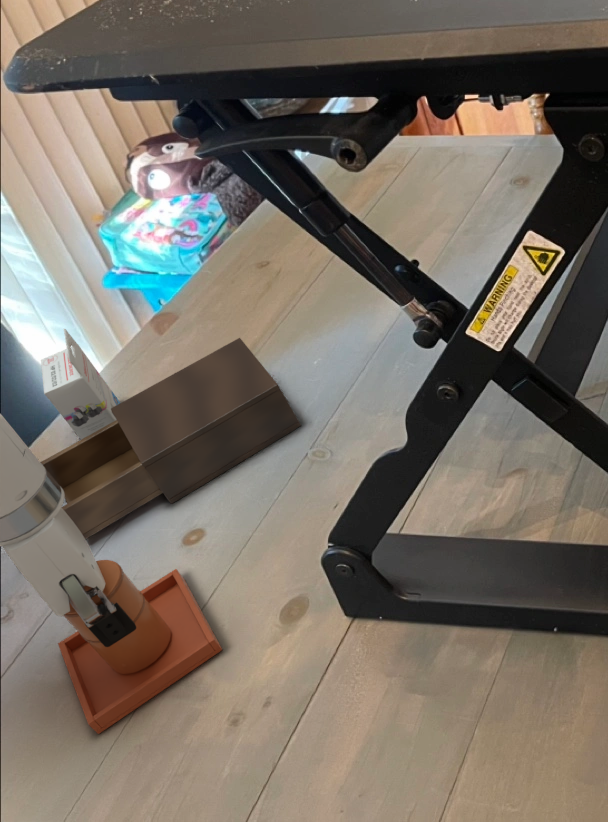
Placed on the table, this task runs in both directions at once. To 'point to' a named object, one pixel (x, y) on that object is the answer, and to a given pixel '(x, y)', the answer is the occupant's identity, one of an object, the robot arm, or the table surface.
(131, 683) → the tray
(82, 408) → the ink box
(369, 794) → the table surface
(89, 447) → the drawer
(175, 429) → the cabinet
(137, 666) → the lidded orange canister
